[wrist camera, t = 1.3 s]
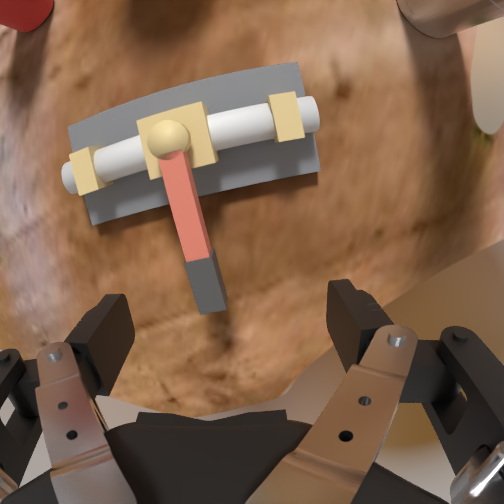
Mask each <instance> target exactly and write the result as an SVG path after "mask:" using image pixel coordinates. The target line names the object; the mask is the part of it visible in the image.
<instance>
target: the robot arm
mask: <svg viewBox="0 0 504 504" xmlns="http://www.w3.org/2000/svg"><path fill="white" fill-rule="evenodd" d="M397 2H398V5H399V7H400V10H401V12H402V13H403V15H404V16H405V18H406V19H407V20H408V21H409V22H410V23H411V24H412V25H413V26H414V27H415V28H416V29H418V30H419V31H420V32H422V33H424V34H426V35H427V36H430V37H433V38H445V37H447V36H450V35H452V34H455V33H457V32H460V31H463V30H466V29H468V28H471V27H474V26H476V25H479V24H482V23H485V22H488V21H491V20H494V19H497V18H500V17H503V16H504V0H397ZM326 322H327V328H328V332H329V334H330V336H331V339H332V341H333V343H334V346H335V348H336V350H337V352H338V355H339V357H340V359H341V362H342V364H343V366H344V369H345V371H346V375H345V377H344V379H343V380H342V382H341V384H340V385H339V387H338V389H337V390H336V392H335V393H334V395H333V396H332V398H331V399H330V401H329V403H328V404H327V405H326V407H325V408H324V410H323V411H322V413H321V415H320V416H319V417H318V419H317V420H316V422H315V423H314V425H311V424H308V423H303V422H299V421H293V420H287V416H286V410H276V411H263V412H250V413H249V412H248V413H244V414H240V415H236V416H231V417H227V418H223V419H218V420H213V421H204V420H199V419H194V418H190V417H185V416H181V415H176V414H169V413H148V412H139V413H138V417H137V420H136V422H133V423H128V424H124V425H121V426H118V427H115V428H113V429H110V430H109V428H108V426H107V424H106V422H105V419H104V417H103V415H102V413H101V411H100V409H99V406H98V404H97V402H96V400H95V398H96V395H102V396H109V395H110V393H111V391H112V388H113V386H114V384H115V382H116V379H117V377H118V375H119V373H120V371H121V368H122V366H123V364H124V362H125V360H126V357H127V355H128V353H129V351H130V349H131V347H132V345H133V343H134V339H135V329H134V325H133V321H132V318H131V314H130V310H129V306H128V302H127V299H126V296H125V295H124V294H106V295H105V296H104V297H103V298H102V300H101V301H100V302H99V304H98V305H97V306H95V307H94V308H92V309H91V310H89V311H88V312H86V314H85V315H84V316H83V317H82V319H81V321H79V323H78V324H77V327H75V328H74V329H73V330H72V332H71V333H70V334H69V335H68V337H67V338H66V339H65V341H64V342H55V343H52V344H49V345H47V346H45V347H44V348H43V349H41V350H40V351H39V353H38V355H37V359H32V360H25V361H23V359H22V357H21V355H20V353H19V351H18V350H16V349H6V350H3V351H1V352H0V409H1V407H2V405H3V403H4V402H5V400H6V398H7V397H8V398H9V399H10V401H11V402H12V404H13V406H14V407H15V410H14V412H13V414H12V415H11V417H10V419H9V420H8V422H7V424H6V426H5V425H4V424H3V423H2V421H1V418H0V504H449V503H448V502H446V501H445V500H443V499H441V498H440V497H438V496H436V495H434V494H432V493H430V492H428V491H425V490H424V489H422V488H420V487H418V486H416V485H414V484H412V483H411V482H409V481H407V480H405V479H403V478H402V477H400V476H398V475H396V474H394V473H393V472H391V471H389V470H387V469H386V468H384V467H382V466H380V465H379V464H377V463H376V462H375V460H376V458H377V456H378V454H379V452H380V449H381V447H382V445H383V443H384V440H385V438H386V435H387V433H388V430H389V428H390V426H391V423H392V421H393V418H394V416H395V413H396V410H397V408H398V405H399V403H422V405H423V407H424V409H425V411H426V413H427V415H428V417H429V419H430V421H431V423H432V425H433V427H434V430H435V431H436V434H437V436H438V438H439V440H440V442H441V444H442V447H443V449H444V451H445V453H446V455H447V457H448V460H449V462H450V464H451V466H452V469H453V471H454V473H455V476H456V477H455V478H454V479H453V481H452V483H451V486H450V495H451V504H504V366H503V365H502V363H501V362H500V361H499V360H498V359H497V358H496V356H495V355H494V354H493V353H492V352H491V351H490V349H489V348H488V347H487V346H486V345H485V344H484V343H483V342H482V340H481V339H480V338H479V337H478V336H477V335H476V334H475V333H474V332H473V331H471V330H469V329H467V328H464V327H460V326H451V327H447V328H445V329H444V330H443V331H442V333H441V336H440V339H439V340H418V337H417V335H416V333H415V332H414V331H413V330H411V329H409V328H408V327H405V326H401V325H394V323H393V322H392V321H391V320H390V318H389V317H388V316H387V314H386V313H385V312H384V311H383V309H381V307H380V305H379V304H378V303H377V302H376V300H375V299H374V298H373V297H372V295H370V294H368V293H367V292H365V291H363V290H356V289H355V287H354V286H353V285H352V283H351V282H350V281H349V279H342V280H332V281H329V283H328V293H327V313H326ZM461 388H462V389H463V391H464V392H465V394H466V396H467V401H466V399H465V397H464V396H463V394H462V393H461V391H460V390H461ZM42 431H43V434H44V439H45V443H46V447H47V450H48V454H49V458H50V461H51V465H52V468H51V469H49V470H48V471H46V472H44V473H43V474H41V475H40V476H38V477H37V478H35V479H33V480H32V481H30V482H28V483H27V484H25V485H23V486H22V487H20V488H19V486H20V483H21V481H22V478H23V476H24V473H25V471H26V468H27V465H28V463H29V460H30V458H31V456H32V454H33V451H34V449H35V447H36V444H37V442H38V440H39V438H40V435H41V433H42Z"/></svg>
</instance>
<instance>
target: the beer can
mask: <svg viewBox="0 0 504 504" xmlns="http://www.w3.org/2000/svg"><path fill="white" fill-rule="evenodd" d="M53 2H54V1H53V0H0V24H2V25H4V26H7V27H10V28H13V29H15V30H18V31H21V32H29V31H31V30H34V29H35V28H37V27H38V26H40V25H41V24H42V23H43V22H44V21H45V19H46V18H47V17H48V15H49V13H50V11H51V9H52V6H53Z"/></svg>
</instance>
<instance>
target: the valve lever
mask: <svg viewBox="0 0 504 504" xmlns="http://www.w3.org/2000/svg"><path fill="white" fill-rule="evenodd" d="M190 144H191V135H190V132H189V130H188V129H187V127H186V126H184V125H183V124H181V123H179V122H176V121H173V120H163V121H160V122H158V123H157V124H155V125H154V126H153V127H152V128H151V130H150V132H149V134H148V137H147V145H148V148H149V151H150V152H151V154H152V155H153V156H155V157H156V158H158V160H159V164H160V168H161V172H162V176H163V180H164V183H165V187H166V191H167V195H168V199H169V203H170V206H171V210H172V214H173V217H174V221H175V224H176V228H177V231H178V235H179V238H180V242H181V245H182V249H183V252H184V255H185V259H186V260H185V262H184V266H185V269H186V272H187V275H188V279H189V282H190V285H191V288H192V291H193V294H194V297H195V300H196V303H197V306H198V309H199V312H200V315H201V314H207V313H212V312H218V311H223V310H227V294H226V290H225V286H224V283H223V279H222V276H221V272H220V268H219V265H218V261H217V257H216V253H215V250H214V248H211V245H210V241H209V237H208V233H207V230H206V226H205V222H204V218H203V214H202V210H201V206H200V202H199V199H198V195H197V191H196V187H195V183H194V178H193V174H192V170H191V166H190V162H189V158H188V154H187V151H188V149H189V147H190Z"/></svg>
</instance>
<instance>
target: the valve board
mask: <svg viewBox="0 0 504 504" xmlns="http://www.w3.org/2000/svg"><path fill="white" fill-rule="evenodd" d="M163 120H173V121H176V122H179V123H181V124H183V125H184V126H186V127H187V129H188V130H189V132H190V135H191V144H190V147H189V149H188V151H187V154H188V158H189V162H190V166H191V170H192V174H193V178H194V183H195V187H196V191H197V195H198V197H199V196H203V195H208V194H212V193H216V192H220V191H225V190H229V189H234V188H238V187H243V186H247V185H252V184H257V183H261V182H266V181H271V180H276V179H281V178H286V177H291V176H297V175H302V174H307V173H313V172H318V171H321V169H320V164H319V158H318V153H317V148H316V142H315V137H314V132H316V131H318V130H319V127H320V120H319V113H318V108H317V105H316V102H315V100H314V98H313V97H312V96H307V97H306V95H305V91H304V87H303V82H302V78H301V74H300V70H299V66H298V62H292V63H285V64H278V65H271V66H265V67H259V68H253V69H248V70H243V71H237V72H233V73H228V74H223V75H219V76H214V77H210V78H206V79H202V80H198V81H194V82H191V83H187V84H183V85H180V86H176V87H173V88H169V89H166V90H163V91H160V92H156V93H153V94H150V95H147V96H144V97H141V98H138V99H135V100H133V101H130V102H127V103H124V104H122V105H119V106H116V107H114V108H111V109H108V110H106V111H103V112H101V113H99V114H96V115H94V116H91V117H89V118H87V119H84V120H82V121H80V122H78V123H75V124H73V125H71V126H69V127H68V132H69V137H70V142H71V147H72V151H73V153H72V154H70V155H69V157H70V161H69V162H67V163H65V164H64V165H63V167H62V180H63V183H64V186H65V188H66V189H67V190H68V192H70V193H71V194H75V193H79V196H81V195H84V199H85V202H86V206H87V209H88V213H89V216H90V219H91V222H92V226H93V225H96V224H100V223H103V222H106V221H110V220H113V219H117V218H120V217H123V216H127V215H131V214H134V213H138V212H141V211H145V210H149V209H152V208H156V207H160V206H164V205H167V204H170V203H169V199H168V195H167V191H166V187H165V183H164V180H163V176H162V172H161V168H160V164H159V160H158V158H156V157H155V156H153V155H152V154H151V152H150V151H149V148H148V145H147V137H148V134H149V132H150V130H151V128H152V127H153V126H154V125H155V124H157V123H158V122H160V121H163Z"/></svg>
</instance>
